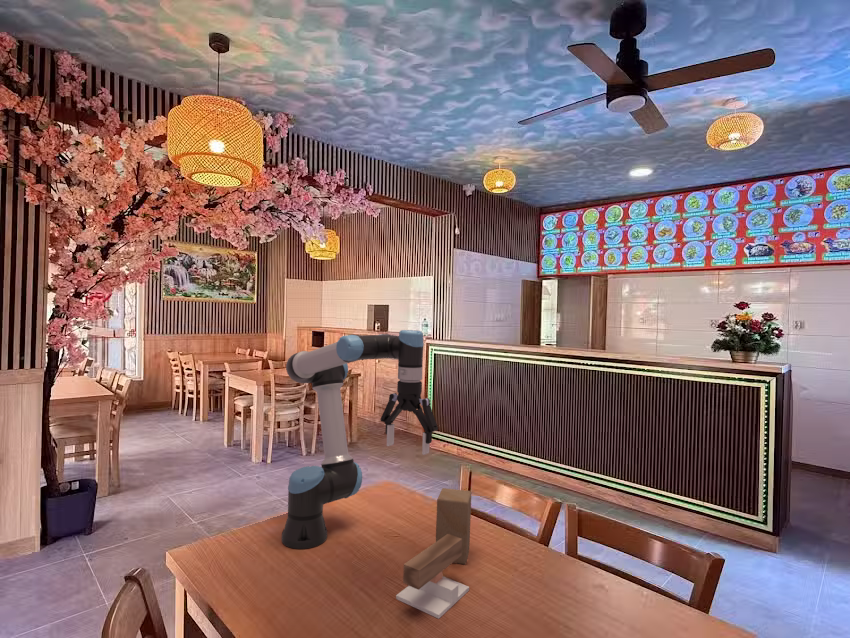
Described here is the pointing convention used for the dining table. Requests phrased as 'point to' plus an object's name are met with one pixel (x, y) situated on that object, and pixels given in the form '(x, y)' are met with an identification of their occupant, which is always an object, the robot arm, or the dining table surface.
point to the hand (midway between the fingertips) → (407, 449)
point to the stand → (434, 595)
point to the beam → (432, 561)
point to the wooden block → (454, 518)
